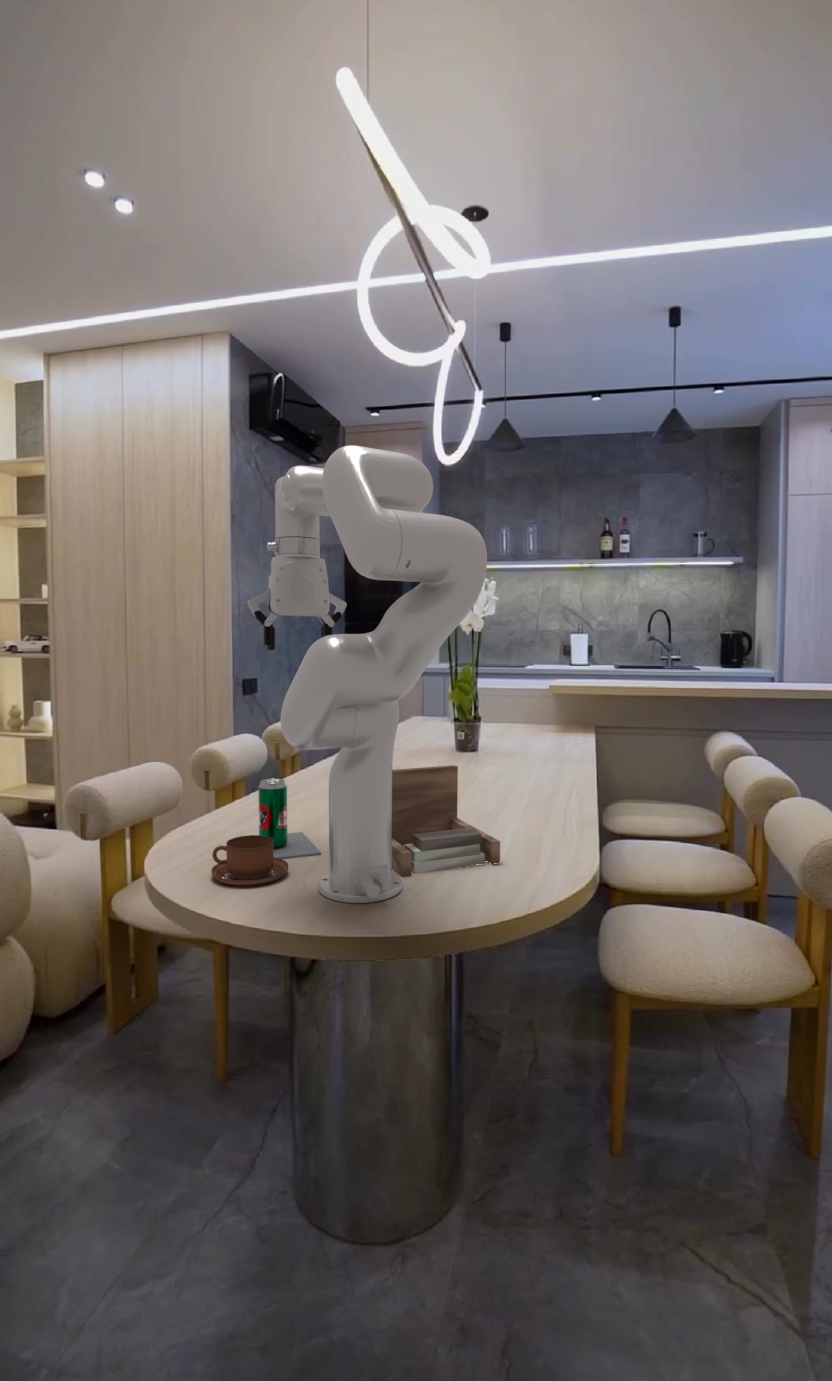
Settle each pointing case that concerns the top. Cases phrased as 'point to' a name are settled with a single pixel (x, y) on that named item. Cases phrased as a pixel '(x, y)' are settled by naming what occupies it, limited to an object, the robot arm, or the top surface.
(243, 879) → the cup and saucer
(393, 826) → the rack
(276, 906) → the top surface
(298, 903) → the top surface
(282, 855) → the mat
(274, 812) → the soda can
